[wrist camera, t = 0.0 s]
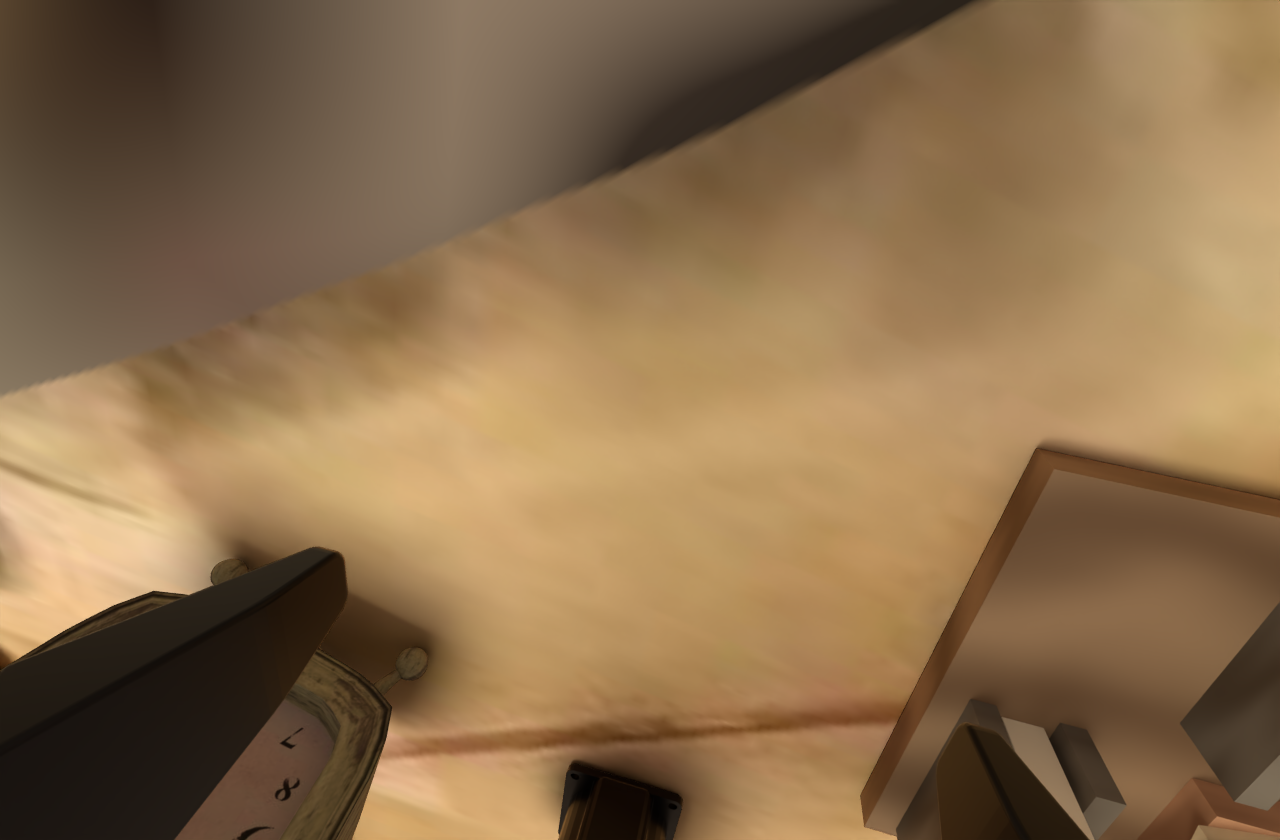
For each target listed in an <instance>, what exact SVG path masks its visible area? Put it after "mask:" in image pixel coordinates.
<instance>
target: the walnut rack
mask: <svg viewBox="0 0 1280 840" xmlns="http://www.w3.org/2000/svg"><path fill="white" fill-rule="evenodd" d="M1001 717H1004V718H1008V719H1012V720H1016V721H1019V722H1023V723H1027V724H1030V725H1034V726H1038V727H1042V728H1044V730H1045V732H1046V734H1047V736H1048V739H1049V741H1050V743H1051V745H1052V747H1053V749H1054V752H1055V754H1056V756H1057V758H1058V760H1059V763H1060V765H1061V767H1062V769H1063V771H1064V774H1065V776H1066V778H1067V780H1068V782H1069V785H1070V787H1071V789H1072V791H1073V793H1074V796H1075V798H1076V800H1077V802H1078V804H1079V807H1080V809H1081V811H1082V813H1083V815H1084V817H1085V820H1086V822H1087V824H1088V826H1089V828H1090V831H1091V833H1092V835H1093V837H1094V839H1095V840H1137V839H1138V837H1139V836H1140V835H1141V834H1142V833H1143V832H1144V831H1145V830H1146V829H1147V827H1148V826H1149V825H1150V824H1151V823H1152V822H1153V821H1154V820H1155V818H1156V817H1157V816H1158V815H1159V814H1160V813H1161V812H1162V811H1163V810H1164V808H1165V807H1166V806H1167V805H1168V804H1169V803H1170V802H1171V801H1172V799H1173V798H1174V797H1175V796H1176V795H1177V794H1178V793H1179V792H1180V790H1181V789H1182V788H1183V787H1184V786H1185V785H1186V784H1187V783H1188V782H1189V780H1190V779H1191V778H1195V779H1198V780H1202V781H1206V782H1209V783H1213V784H1217V785H1221V786H1224V788H1225V789H1226V791H1227V792H1228V794H1229V795H1230V796H1231V798H1232V799H1233V801H1234V802H1237V803H1241V804H1244V805H1248V806H1252V807H1255V808H1259V809H1263V810H1266V811H1268V810H1269V809H1270V808H1271V807H1272V806H1273V805H1274V804H1275V803H1276V802H1277V801H1280V500H1278V499H1273V498H1268V497H1264V496H1259V495H1254V494H1250V493H1245V492H1240V491H1235V490H1231V489H1226V488H1221V487H1217V486H1212V485H1207V484H1203V483H1198V482H1193V481H1188V480H1184V479H1179V478H1174V477H1170V476H1165V475H1160V474H1156V473H1151V472H1146V471H1141V470H1137V469H1132V468H1127V467H1123V466H1118V465H1113V464H1109V463H1104V462H1099V461H1094V460H1090V459H1085V458H1080V457H1076V456H1071V455H1066V454H1062V453H1057V452H1052V451H1047V450H1043V449H1038V448H1036V450H1035V452H1034V454H1033V456H1032V458H1031V460H1030V462H1029V464H1028V466H1027V468H1026V470H1025V472H1024V474H1023V476H1022V478H1021V480H1020V482H1019V484H1018V486H1017V488H1016V490H1015V492H1014V494H1013V496H1012V498H1011V500H1010V502H1009V504H1008V506H1007V507H1006V509H1005V511H1004V513H1003V515H1002V517H1001V519H1000V521H999V523H998V525H997V527H996V529H995V531H994V533H993V535H992V537H991V539H990V541H989V543H988V545H987V547H986V549H985V551H984V553H983V555H982V557H981V559H980V561H979V563H978V565H977V567H976V569H975V571H974V573H973V575H972V577H971V579H970V581H969V583H968V585H967V587H966V588H965V590H964V592H963V594H962V596H961V598H960V600H959V602H958V604H957V606H956V608H955V610H954V612H953V614H952V616H951V618H950V620H949V622H948V624H947V626H946V628H945V630H944V632H943V634H942V636H941V638H940V640H939V642H938V644H937V646H936V648H935V650H934V652H933V654H932V656H931V658H930V660H929V662H928V664H927V666H926V668H925V670H924V671H923V673H922V675H921V677H920V679H919V681H918V683H917V685H916V687H915V689H914V691H913V693H912V695H911V697H910V699H909V701H908V703H907V705H906V707H905V709H904V711H903V713H902V715H901V717H900V719H899V721H898V723H897V725H896V727H895V729H894V731H893V733H892V735H891V737H890V739H889V741H888V743H887V745H886V747H885V749H884V751H883V752H882V754H881V756H880V758H879V760H878V762H877V764H876V766H875V768H874V770H873V772H872V774H871V776H870V778H869V780H868V782H867V784H866V786H865V788H864V790H863V792H862V794H861V796H860V797H861V805H862V813H863V820H864V827H866V828H870V829H873V830H876V831H880V832H883V833H886V834H890V835H893V836H896V837H897V839H898V840H941V829H940V818H939V806H938V795H937V784H936V769H937V764H938V760H939V758H940V756H941V754H942V753H943V751H944V749H945V747H946V746H947V744H948V742H949V741H950V739H951V737H952V735H953V734H954V732H955V730H956V728H957V727H958V726H959V725H960V724H962V723H964V722H967V723H972V724H975V725H979V726H983V727H986V728H990V729H993V730H995V731H996V732H998V733H999V734H1000V735H1001V736H1002V737H1003V738H1004V739H1005V741H1006V742H1007V743H1008V744H1009V745H1010V746H1011V748H1012V749H1013V747H1012V744H1011V742H1010V739H1009V736H1008V734H1007V731H1006V729H1005V726H1004V724H1003V721H1002V719H1001ZM1013 750H1014V749H1013Z"/></svg>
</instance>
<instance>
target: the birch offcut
mask: <svg viewBox="0 0 1280 840" xmlns="http://www.w3.org/2000/svg"><path fill="white" fill-rule="evenodd" d="M1191 840H1280V837H1277V836H1270V835H1264V834H1257V833H1250V832H1243V831H1237V830H1230V829H1223V828H1217V827H1210V826H1203V825H1198V827H1197V829H1196V831H1195V833H1194V835H1193V837H1192V839H1191Z"/></svg>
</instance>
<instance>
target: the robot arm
mask: <svg viewBox="0 0 1280 840" xmlns="http://www.w3.org/2000/svg"><path fill="white" fill-rule="evenodd" d="M347 596H348V588H347V578H346V568H345V560H344V557H343V555H342V554H341V553H340V552H337V551H334V550H330V549H326V548H323V547H312V548H309V549H306V550H304V551H301V552H298V553H296V554H293V555H291V556H288V557H285V558H283V559H280V560H278V561H275V562H273V563H270V564H267V565H265V566H262V567H260V568H257V569H255V570H252V571H249V572H247V573H244V574H242V575H239V576H237V577H234V578H231V579H229V580H226V581H224V582H221V583H219V584H216V585H213V586H211V587H208V588H206V589H203V590H201V591H198V592H195V593H193V594H190V595H188V596H185V597H183V598H180V599H177V600H175V601H172V602H170V603H167V604H165V605H162V606H159V607H157V608H154V609H152V610H149V611H147V612H144V613H141V614H139V615H136V616H134V617H131V618H129V619H126V620H123V621H121V622H118V623H116V624H113V625H111V626H108V627H105V628H103V629H100V630H98V631H95V632H93V633H90V634H87V635H85V636H82V637H80V638H77V639H74V640H72V641H69V642H67V643H64V644H62V645H59V646H56V647H54V648H51V649H49V650H46V651H44V652H41V653H38V654H36V655H33V656H31V657H28V658H26V659H23V660H20V661H18V662H15V663H13V664H10V665H8V666H6V667H5V668H4V669H3V670H2V671H1V670H0V840H175V839H176V837H177V836H178V835H179V833H180V832H181V831H182V830H183V828H184V827H185V826H186V825H187V823H188V822H189V821H190V819H191V818H192V817H193V816H194V814H195V813H196V812H197V811H198V809H199V808H200V807H201V806H202V804H203V803H204V802H205V800H206V799H207V798H208V797H209V795H210V794H211V793H212V792H213V790H214V789H215V788H216V786H217V785H218V784H219V783H220V781H221V780H222V779H223V778H224V776H225V775H226V774H227V772H228V771H229V770H230V769H231V767H232V766H233V765H234V764H235V762H236V761H237V760H238V758H239V757H240V756H241V755H242V753H243V752H244V751H245V750H246V748H247V747H248V746H249V745H250V743H251V742H252V741H253V739H254V738H255V737H256V736H257V734H258V733H259V732H260V731H261V729H262V728H263V727H264V725H265V724H266V723H267V722H268V720H269V719H270V718H271V717H272V715H273V714H274V713H275V711H276V710H277V709H278V707H279V706H280V705H281V703H282V702H283V701H284V699H285V698H286V696H287V695H288V693H289V692H290V690H291V689H292V688H293V686H294V685H295V683H296V681H297V680H298V678H299V677H300V675H301V674H302V672H303V671H304V669H305V667H306V666H307V664H308V663H309V661H310V660H311V658H312V657H313V655H314V654H315V652H316V650H317V649H318V647H319V646H320V644H321V643H322V641H323V640H324V638H325V637H326V635H327V633H328V632H329V630H330V629H331V627H332V626H333V624H334V623H335V621H336V619H337V618H338V616H339V615H340V613H341V612H342V610H343V608H344V606H345V604H346V601H347ZM936 784H937V795H938V806H939V818H940V829H941V840H1090V839H1089V838H1088V837H1087V836H1086V835H1085V834H1084V832H1083V831H1082V830H1081V829H1080V828H1079V826H1078V825H1077V824H1076V823H1075V822H1074V821H1073V819H1072V818H1071V817H1070V816H1069V815H1068V813H1067V812H1066V811H1065V810H1064V809H1063V808H1062V806H1061V805H1060V804H1059V803H1058V802H1057V801H1056V799H1055V798H1054V797H1053V796H1052V795H1051V793H1050V792H1049V791H1048V790H1047V789H1046V788H1045V786H1044V785H1043V784H1042V783H1041V782H1040V781H1039V779H1038V778H1037V777H1036V776H1035V775H1034V773H1033V772H1032V771H1031V770H1030V769H1029V768H1028V766H1027V765H1026V764H1025V763H1024V762H1023V761H1022V759H1021V758H1020V757H1019V756H1018V755H1017V753H1016V752H1015V751H1014V750H1013V749H1012V748H1011V746H1010V745H1009V744H1008V743H1007V742H1006V741H1005V739H1004V738H1003V737H1002V736H1001V735H1000V734H999V733H998V732H996V731H995V730H993V729H990V728H986V727H983V726H979V725H975V724H972V723H967V722H964V723H962V724H960V725H959V726H958V727H957V728H956V730H955V732H954V734H953V735H952V737H951V739H950V741H949V742H948V744H947V746H946V747H945V749H944V751H943V753H942V754H941V756H940V758H939V760H938V764H937V769H936ZM682 804H683V799H682V798H681V797H680V796H679V795H677V794H675V793H672V792H668V791H665V790H662V789H658V788H655V787H652V786H648V785H645V784H642V783H639V782H635V781H632V780H629V779H625V778H622V777H619V776H616V775H612V774H609V773H606V772H602V771H599V770H596V769H593V768H589V767H586V766H583V765H579V764H571V765H570V766H569V768H568V771H567V774H566V780H565V788H564V795H563V802H562V809H561V816H560V823H559V830H558V833H559V839H558V840H673V838H674V834H675V831H676V827H677V824H678V820H679V817H680V813H681V810H682Z"/></svg>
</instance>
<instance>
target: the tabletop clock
mask: <svg viewBox="0 0 1280 840" xmlns="http://www.w3.org/2000/svg"><path fill="white" fill-rule="evenodd" d="M247 572H248V568H247V567H246V565H245V563H243V562H242V561H240V560H238V559H229V560H224V561H222V562H220V563H219V564H217V565H216V566H215V567H214V569H213V570H212V572H211V582H212V584H213V585H216V584H219V583H221V582H224V581H226V580H229V579H231V578H234V577H237V576H239V575H242V574H244V573H247ZM185 596H188V595H185V594H176V593H168V592H159V591H152V592H149V593H147V594H144V595H141V596H138V597H136V598H133V599H130V600H127V601H125V602H122V603H119V604H116V605H114V606H112V607H110V608H108V609H106V610H104V611H102V612H100V613H98V614H96V615H94V616H92V617H90V618H88V619H86V620H84V621H82V622H80V623H78V624H76V625H74V626H72V627H71V628H69V629H67V630H65V631H63V632H62V633H60V634H58V635H57V636H55V637H53V638H52V639H50V640H49V641H47V642H45V643H44V644H42V645H40V646H39V647H37V648H35V649H34V650H32V651H31V652H29V653H27V654H26V655H24V656H22V657H21V658H19V659H17V660H16V661H14V662H13V663H15V662H18V661H20V660H23V659H26V658H28V657H31V656H33V655H36V654H38V653H41V652H44V651H46V650H49V649H51V648H54V647H56V646H59V645H62V644H64V643H67V642H69V641H72V640H74V639H77V638H80V637H82V636H85V635H87V634H90V633H93V632H95V631H98V630H100V629H103V628H105V627H108V626H111V625H113V624H116V623H118V622H121V621H123V620H126V619H129V618H131V617H134V616H136V615H139V614H141V613H144V612H147V611H149V610H152V609H154V608H157V607H159V606H162V605H165V604H167V603H170V602H172V601H175V600H177V599H180V598H183V597H185ZM13 663H11V664H13ZM9 665H10V664H9ZM427 666H428V657H427V654H426V653H425V651H424V650H422V649H421V648H418V647H410V648H407V649H405V650H404V651H402V652H401V653H400V655H399V656H398V658H397V660H396V670H394V671H393V672H391V673H390V674H388V675H387V676H385V677H384V678H382V679H381V680H379V681H378V682H376V683H375V684H372V683H370V682H369V681H368V680H367V679H366V678H365V677H363V676H362V675H361V674H359V673H358V672H356V671H355V670H353V669H351V668H350V667H348V666H347V665H345V664H343V663H342V662H340V661H338V660H337V659H335V658H333V657H331V656H330V655H328V654H326V653H324V652H323V651H321V650H319V649H317V650H316V652H315V654H314V655H313V657H312V658H311V660H310V661H309V663H308V664H307V666H306V667H305V669H304V671H303V672H302V674H301V675H300V677H299V678H298V680H297V681H296V683H295V685H294V686H293V688H292V689H291V690H290V692H289V693H288V695H287V696H286V698H285V699H284V701H283V702H282V703H281V705H280V706H279V707H278V709H277V710H276V711H275V713H274V714H273V715H272V717H271V718H270V719H269V720H268V722H267V723H266V724H265V725H264V727H263V728H262V729H261V731H260V732H259V733H258V734H257V736H256V737H255V738H254V739H253V741H252V742H251V743H250V745H249V746H248V747H247V748H246V750H245V751H244V752H243V753H242V755H241V756H240V757H239V758H238V760H237V761H236V762H235V764H234V765H233V766H232V767H231V769H230V770H229V771H228V772H227V774H226V775H225V776H224V778H223V779H222V780H221V781H220V783H219V784H218V785H217V786H216V788H215V789H214V790H213V792H212V793H211V794H210V795H209V797H208V798H207V799H206V800H205V802H204V803H203V804H202V806H201V807H200V808H199V809H198V811H197V812H196V813H195V814H194V816H193V817H192V818H191V819H190V821H189V822H188V823H187V825H186V826H185V827H184V828H183V830H182V831H181V832H180V833H179V835H178V836H177V837H176V839H175V840H352V837H353V835H354V832H355V829H356V827H357V824H358V822H359V819H360V816H361V813H362V810H363V807H364V804H365V801H366V798H367V795H368V792H369V789H370V786H371V783H372V780H373V777H374V774H375V771H376V768H377V765H378V762H379V759H380V756H381V753H382V750H383V747H384V744H385V741H386V737H387V732H388V727H389V721H390V716H391V711H392V707H391V705H390V704H389V703H388V702H387V700H386V699H385V698H384V697H383V695H384V694H385V693H386V692H387V691H388V690H389V689H390V688H391V687H392V686H393V685H394V684H395V683H396V682H398V681H399V680H400V679H401V678H402V679H404V680H415V679H418V678H419V677H421V676H422V675H423V674H424V672H425V671H426V669H427ZM4 668H5V667H4ZM4 668H3V669H4ZM3 669H1V671H2V670H3Z"/></svg>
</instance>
